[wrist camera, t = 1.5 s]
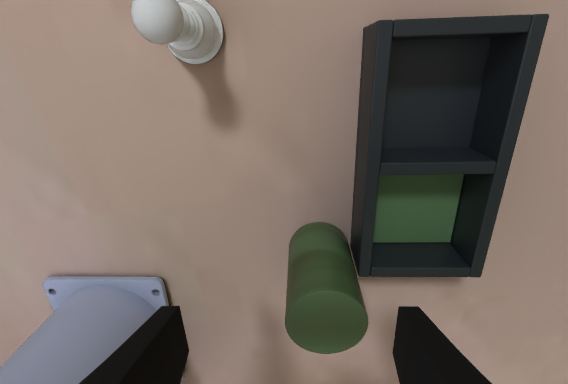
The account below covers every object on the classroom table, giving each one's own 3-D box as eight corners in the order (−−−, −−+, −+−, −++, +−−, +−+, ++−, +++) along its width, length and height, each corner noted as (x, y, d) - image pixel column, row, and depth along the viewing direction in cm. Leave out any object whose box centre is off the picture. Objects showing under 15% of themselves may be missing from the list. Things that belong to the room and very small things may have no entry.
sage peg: (347, 272, 20) (365, 355, 14) (289, 272, 20) (286, 353, 14) (349, 221, 18) (371, 291, 13) (288, 222, 19) (283, 291, 13)
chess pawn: (158, 49, 15) (96, 45, 11) (172, -15, 14) (111, -51, 9) (213, 73, 15) (177, 79, 11) (232, 12, 14) (200, -10, 10)
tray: (503, 22, 14) (550, 13, 11) (455, 246, 19) (481, 277, 16) (363, 27, 14) (377, 20, 12) (350, 246, 19) (358, 277, 16)
